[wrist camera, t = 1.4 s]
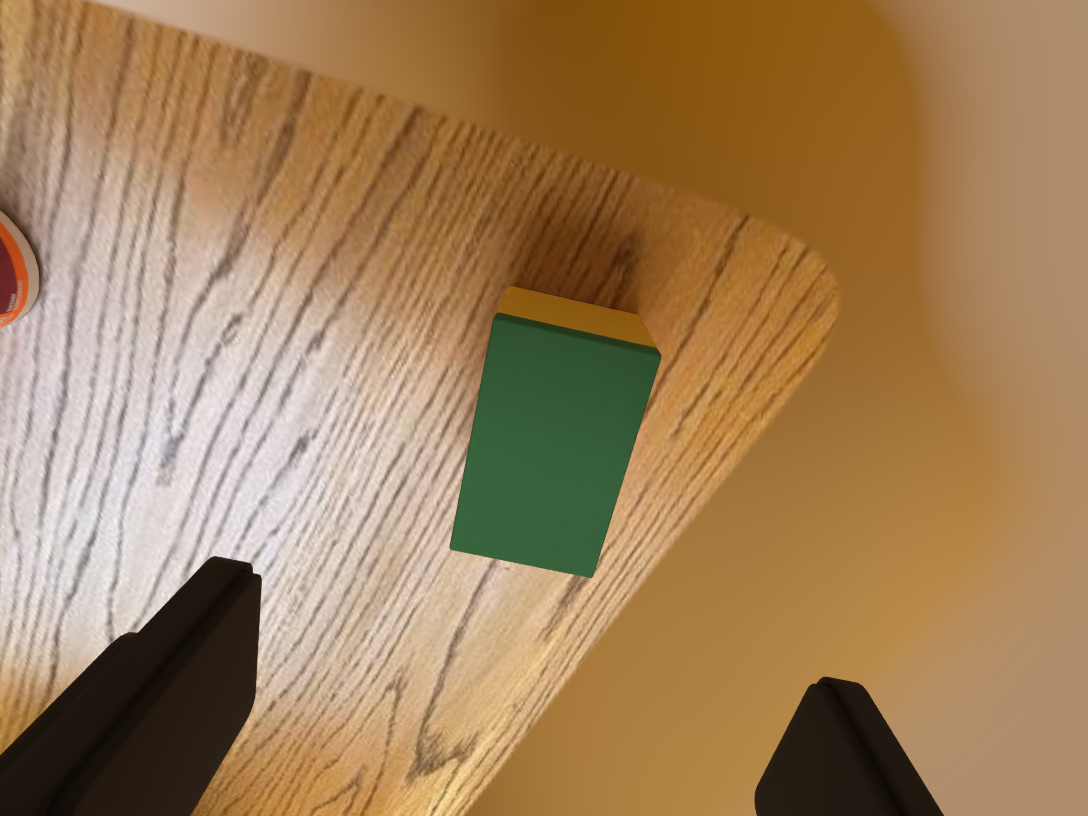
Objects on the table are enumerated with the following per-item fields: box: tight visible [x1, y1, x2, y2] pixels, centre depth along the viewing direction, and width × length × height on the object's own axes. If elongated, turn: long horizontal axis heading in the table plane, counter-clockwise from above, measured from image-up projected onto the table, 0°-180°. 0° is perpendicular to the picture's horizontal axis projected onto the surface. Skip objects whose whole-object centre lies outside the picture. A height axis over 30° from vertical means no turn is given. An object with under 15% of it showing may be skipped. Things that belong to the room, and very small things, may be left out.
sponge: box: [450, 286, 661, 578], centre depth 19 cm, size 8×5×5 cm, turn 167°
